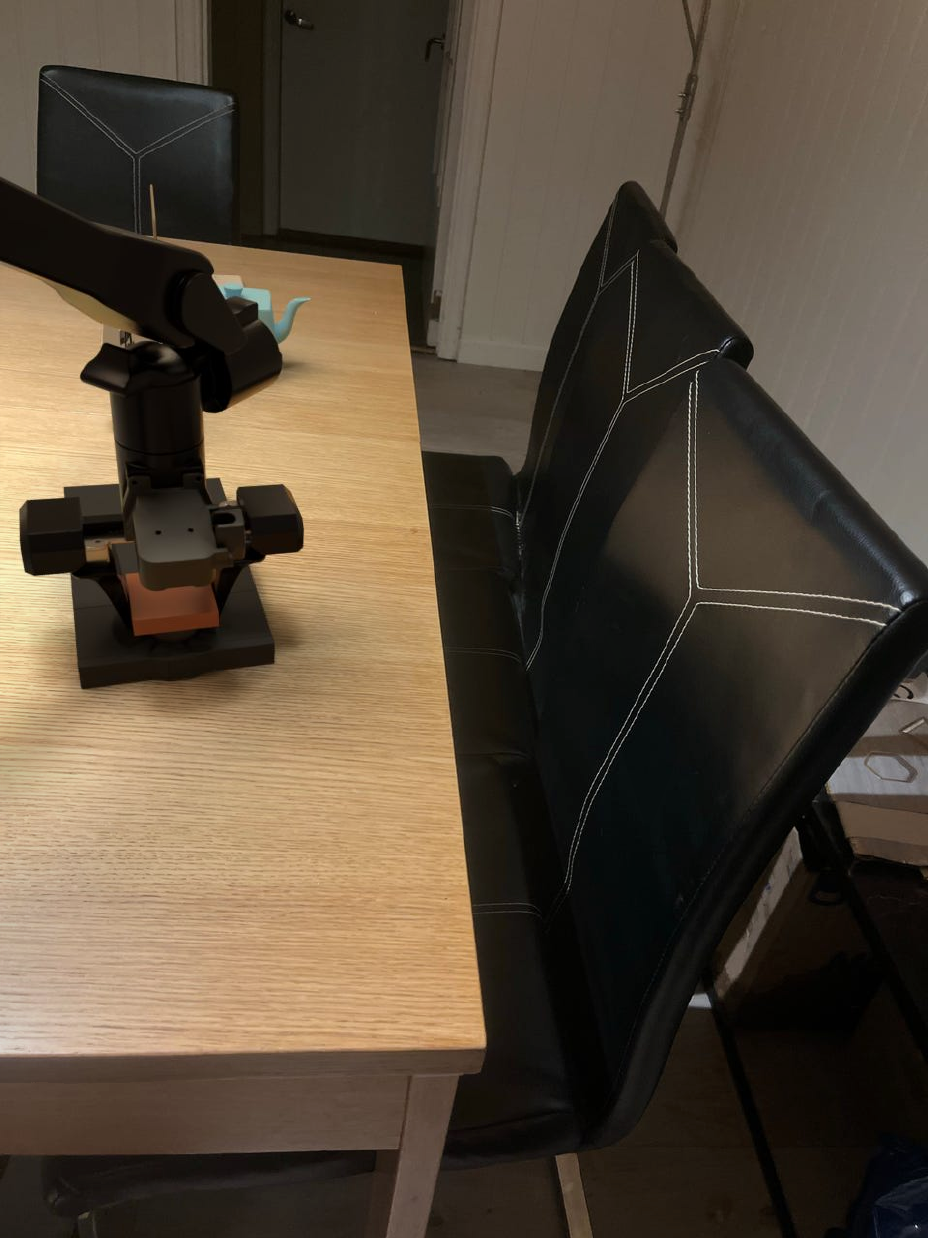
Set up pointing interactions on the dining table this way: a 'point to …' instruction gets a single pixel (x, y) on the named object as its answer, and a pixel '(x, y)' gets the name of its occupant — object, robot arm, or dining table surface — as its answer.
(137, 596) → the reddish orange rectangular block
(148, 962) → the dining table surface
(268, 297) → the teapot
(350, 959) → the dining table surface
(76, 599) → the back pad
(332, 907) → the dining table surface
